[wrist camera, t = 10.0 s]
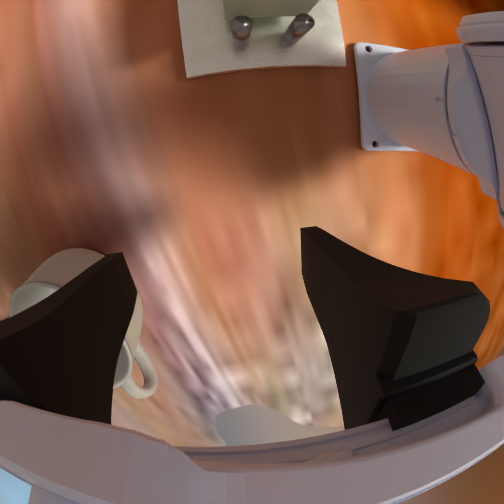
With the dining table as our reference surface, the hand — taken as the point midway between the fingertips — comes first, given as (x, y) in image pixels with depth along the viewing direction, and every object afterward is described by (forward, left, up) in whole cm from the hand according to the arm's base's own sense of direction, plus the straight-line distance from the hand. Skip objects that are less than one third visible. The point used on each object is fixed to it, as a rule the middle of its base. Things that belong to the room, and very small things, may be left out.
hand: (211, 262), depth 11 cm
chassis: (-4, -17, -9) cm, 20 cm away
